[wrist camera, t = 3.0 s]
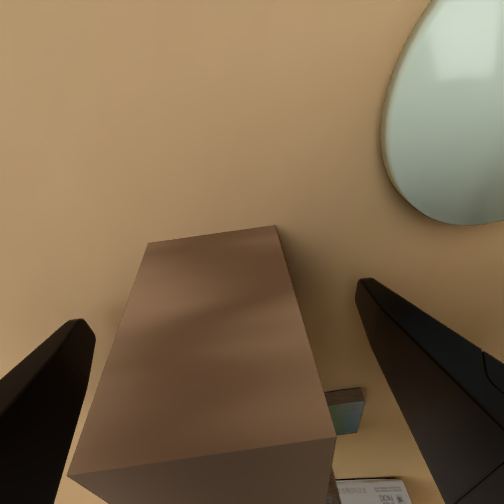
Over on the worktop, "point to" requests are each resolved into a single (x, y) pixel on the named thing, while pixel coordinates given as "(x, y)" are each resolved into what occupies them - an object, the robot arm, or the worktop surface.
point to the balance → (343, 424)
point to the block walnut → (209, 384)
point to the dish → (449, 113)
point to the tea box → (373, 491)
